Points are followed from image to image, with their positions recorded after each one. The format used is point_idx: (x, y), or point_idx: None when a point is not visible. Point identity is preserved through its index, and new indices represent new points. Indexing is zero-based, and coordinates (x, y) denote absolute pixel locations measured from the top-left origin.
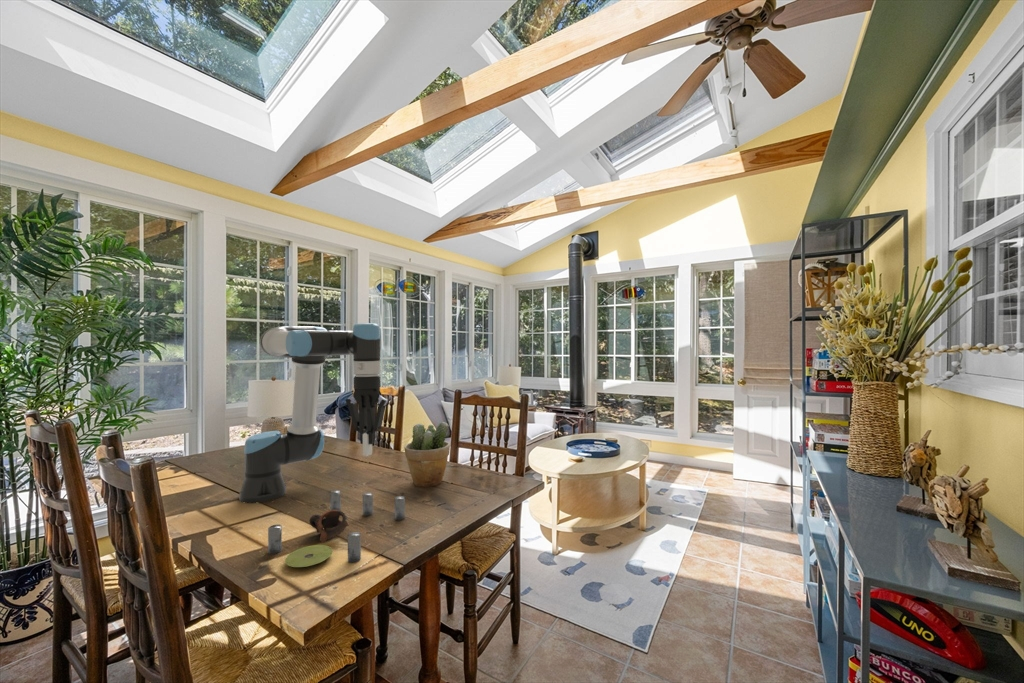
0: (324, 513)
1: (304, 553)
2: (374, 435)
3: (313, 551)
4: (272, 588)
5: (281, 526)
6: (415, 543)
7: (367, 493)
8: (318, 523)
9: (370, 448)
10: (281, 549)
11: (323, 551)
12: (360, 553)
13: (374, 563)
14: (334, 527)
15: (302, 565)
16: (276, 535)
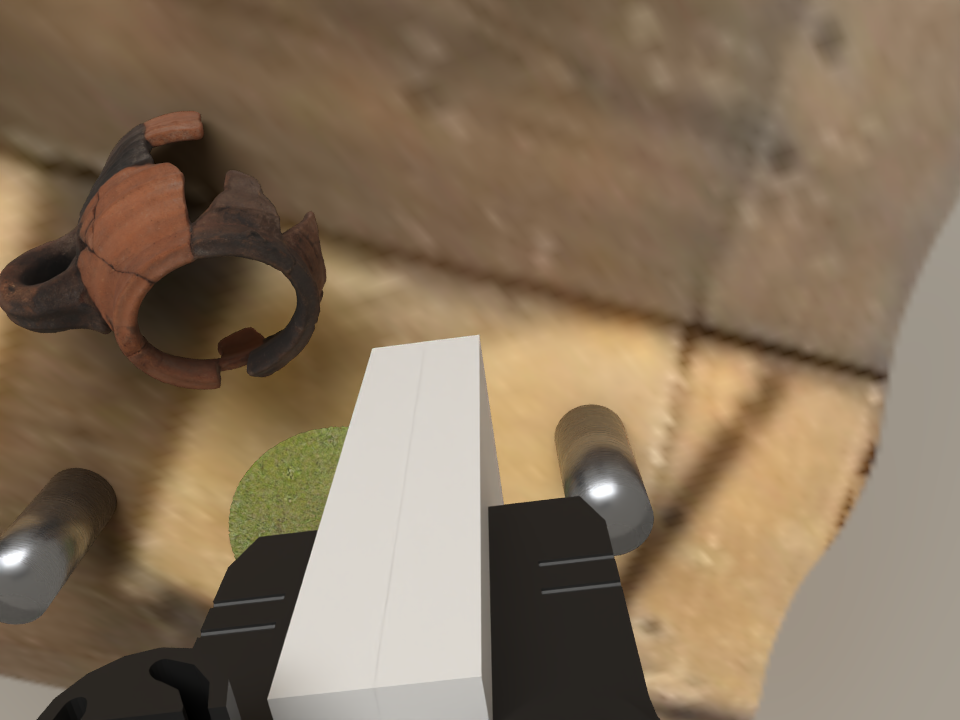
0: (122, 324)
1: (306, 527)
2: (637, 653)
3: None
4: None
5: (34, 567)
6: (856, 134)
7: None
8: (168, 383)
9: (492, 466)
10: (101, 488)
11: None
12: (629, 444)
13: (715, 418)
14: (294, 344)
15: None
16: (66, 580)
